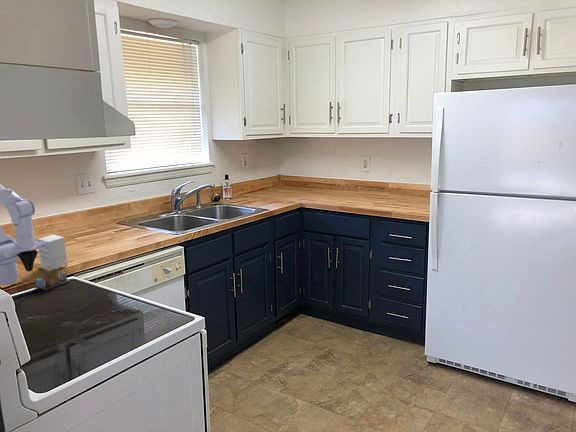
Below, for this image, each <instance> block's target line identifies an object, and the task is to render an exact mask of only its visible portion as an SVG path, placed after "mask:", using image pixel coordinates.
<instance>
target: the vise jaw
mask: <svg viewBox="0 0 576 432" xmlns="http://www.w3.org/2000/svg"><path fill="white" fill-rule="evenodd" d="M35 285H36V286H38V287H40V288H43V287H45V280H44V279H43V278H35ZM38 287H37V288H38ZM40 288H39V289H40Z"/></svg>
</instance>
